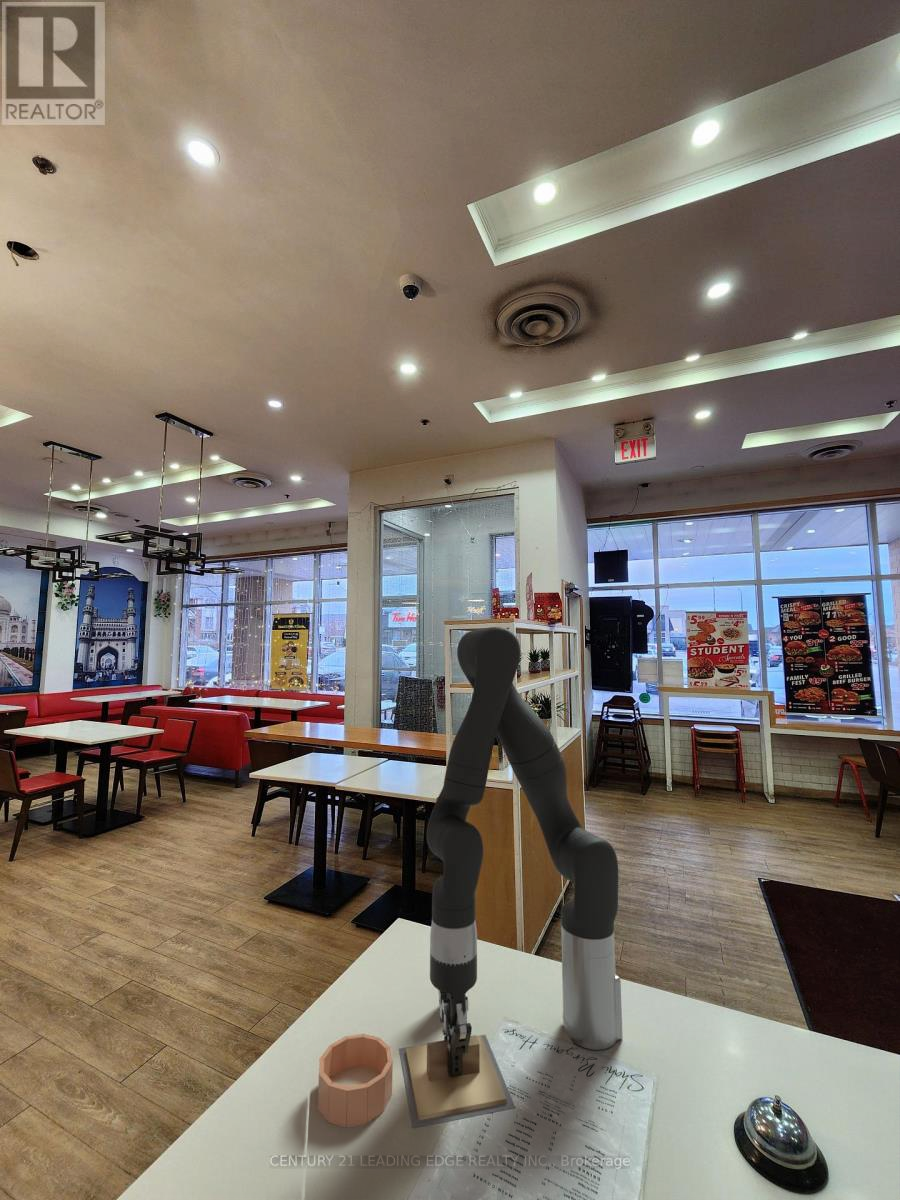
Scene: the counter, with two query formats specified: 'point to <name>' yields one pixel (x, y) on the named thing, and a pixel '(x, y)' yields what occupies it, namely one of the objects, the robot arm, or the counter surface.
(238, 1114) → the counter surface
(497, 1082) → the board
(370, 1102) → the terracotta ring
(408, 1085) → the rubber mat
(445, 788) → the robot arm
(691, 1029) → the counter surface
